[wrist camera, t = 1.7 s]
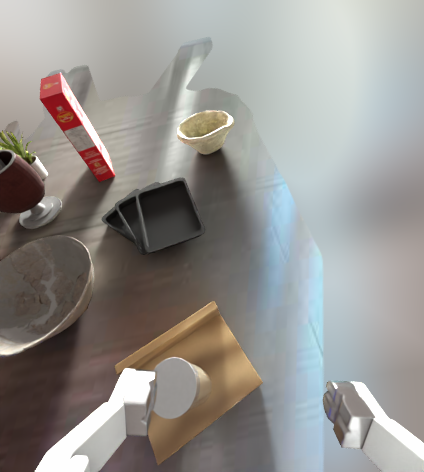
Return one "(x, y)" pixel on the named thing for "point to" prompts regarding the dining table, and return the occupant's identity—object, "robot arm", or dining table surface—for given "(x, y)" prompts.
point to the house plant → (23, 154)
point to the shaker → (180, 387)
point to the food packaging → (75, 125)
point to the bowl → (205, 130)
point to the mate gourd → (25, 192)
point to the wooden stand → (207, 357)
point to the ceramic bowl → (42, 291)
